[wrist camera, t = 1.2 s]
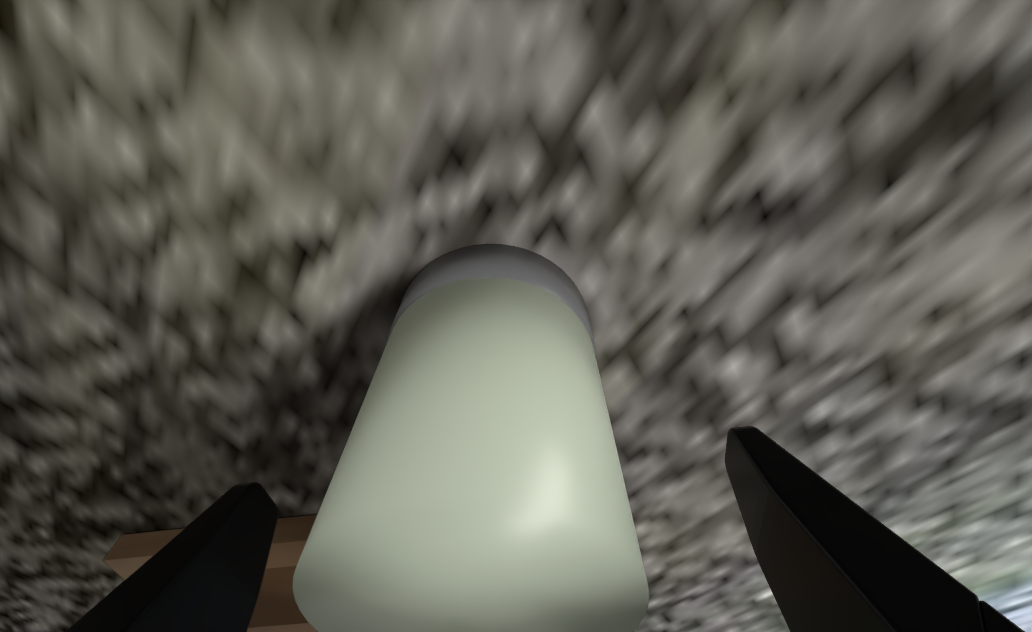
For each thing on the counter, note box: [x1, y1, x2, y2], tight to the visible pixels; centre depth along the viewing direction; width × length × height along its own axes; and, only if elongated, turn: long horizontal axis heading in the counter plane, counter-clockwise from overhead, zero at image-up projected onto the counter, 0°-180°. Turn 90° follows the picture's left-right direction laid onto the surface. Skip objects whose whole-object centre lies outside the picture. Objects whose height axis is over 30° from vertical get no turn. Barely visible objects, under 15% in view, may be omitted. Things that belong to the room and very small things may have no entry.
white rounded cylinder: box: [293, 244, 649, 632], centre depth 9 cm, size 5×5×7 cm
